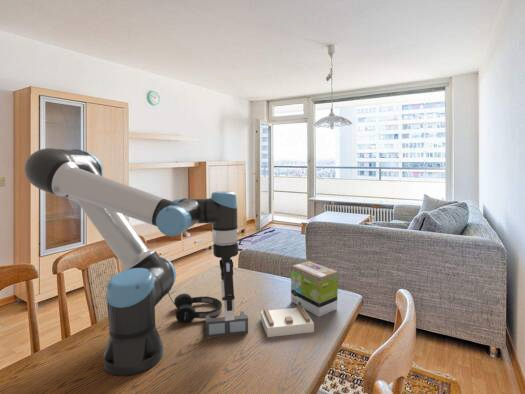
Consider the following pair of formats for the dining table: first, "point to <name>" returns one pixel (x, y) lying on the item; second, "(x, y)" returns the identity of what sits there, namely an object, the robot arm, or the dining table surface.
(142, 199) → the robot arm
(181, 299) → the headset
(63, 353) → the dining table surface
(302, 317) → the stand
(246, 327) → the glasses
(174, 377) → the dining table surface
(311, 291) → the tea box
